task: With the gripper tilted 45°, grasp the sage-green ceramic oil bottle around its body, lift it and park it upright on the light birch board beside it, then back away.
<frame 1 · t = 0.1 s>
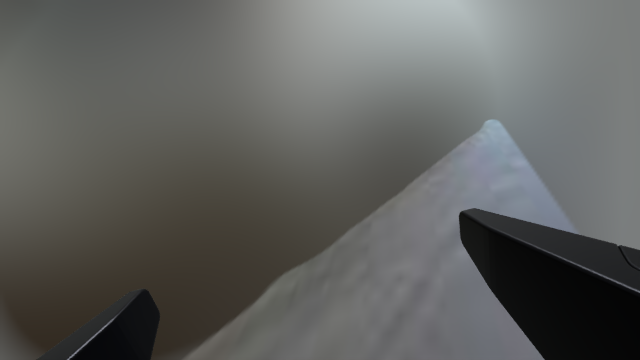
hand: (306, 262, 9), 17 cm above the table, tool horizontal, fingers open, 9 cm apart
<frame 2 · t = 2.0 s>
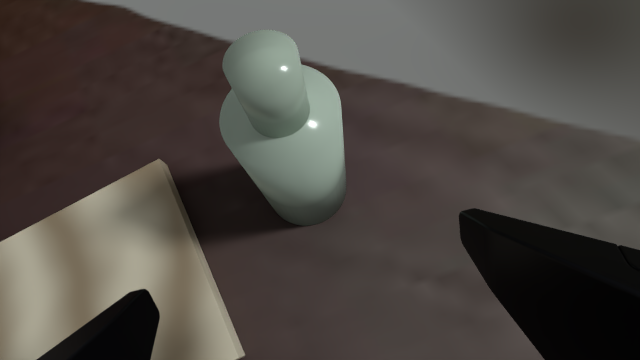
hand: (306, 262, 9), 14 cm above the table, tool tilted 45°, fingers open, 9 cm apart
oil bottle: (307, 187, 25), on the table
birch board: (85, 313, 23), on the table
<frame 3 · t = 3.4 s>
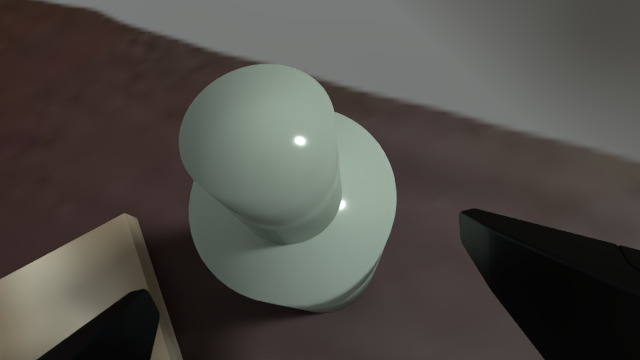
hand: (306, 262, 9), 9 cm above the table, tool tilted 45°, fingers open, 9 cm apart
oil bottle: (322, 255, 18), on the table
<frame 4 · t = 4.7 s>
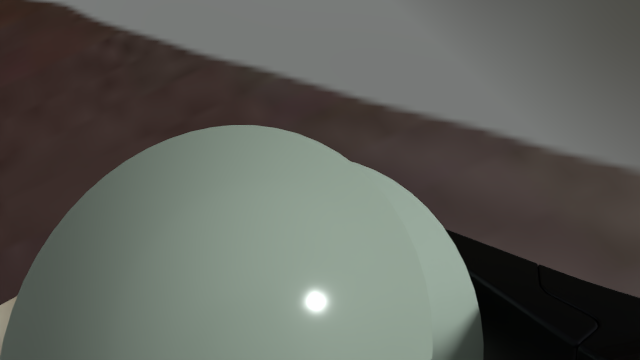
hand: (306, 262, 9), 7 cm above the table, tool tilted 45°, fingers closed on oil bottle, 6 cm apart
oil bottle: (332, 316, 15), on the table, touching gripper
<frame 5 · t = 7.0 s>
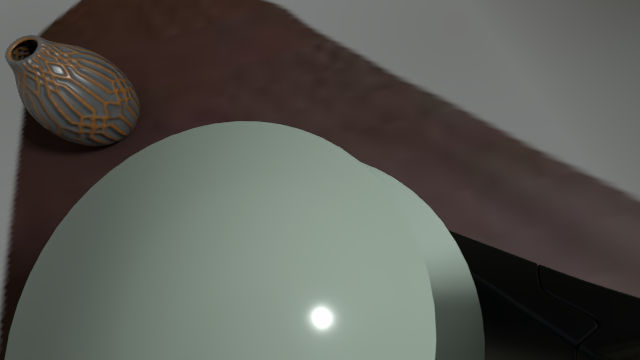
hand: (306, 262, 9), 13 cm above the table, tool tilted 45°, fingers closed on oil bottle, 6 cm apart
oil bottle: (333, 315, 15), point 7 cm above the table, touching gripper
vase: (117, 124, 29), on the table
when the fingers open (9 cm above the table, at t = 9.2 s): oil bottle stays where it is, resting on birch board.
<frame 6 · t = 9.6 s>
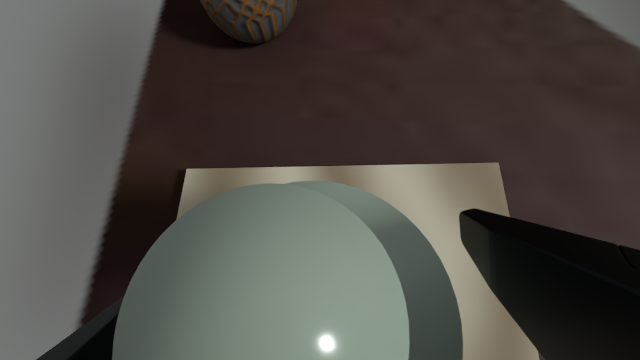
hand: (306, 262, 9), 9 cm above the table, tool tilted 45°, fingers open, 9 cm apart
oil bottle: (334, 317, 16), point 1 cm above the table, touching birch board
vase: (261, 26, 26), on the table
birch board: (335, 315, 17), on the table
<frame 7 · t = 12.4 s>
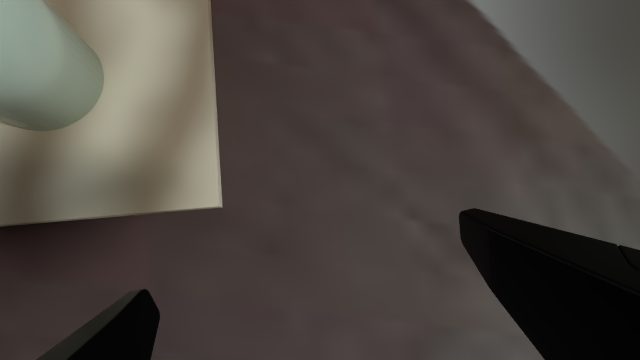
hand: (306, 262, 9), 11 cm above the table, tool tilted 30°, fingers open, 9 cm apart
oil bottle: (45, 79, 18), point 1 cm above the table, touching birch board
birch board: (58, 87, 19), on the table
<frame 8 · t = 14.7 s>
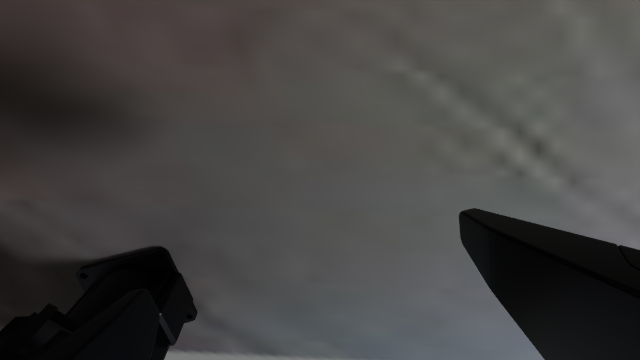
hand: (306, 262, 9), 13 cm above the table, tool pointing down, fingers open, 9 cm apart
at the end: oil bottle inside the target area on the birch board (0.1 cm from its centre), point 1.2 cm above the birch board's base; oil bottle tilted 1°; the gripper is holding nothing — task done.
